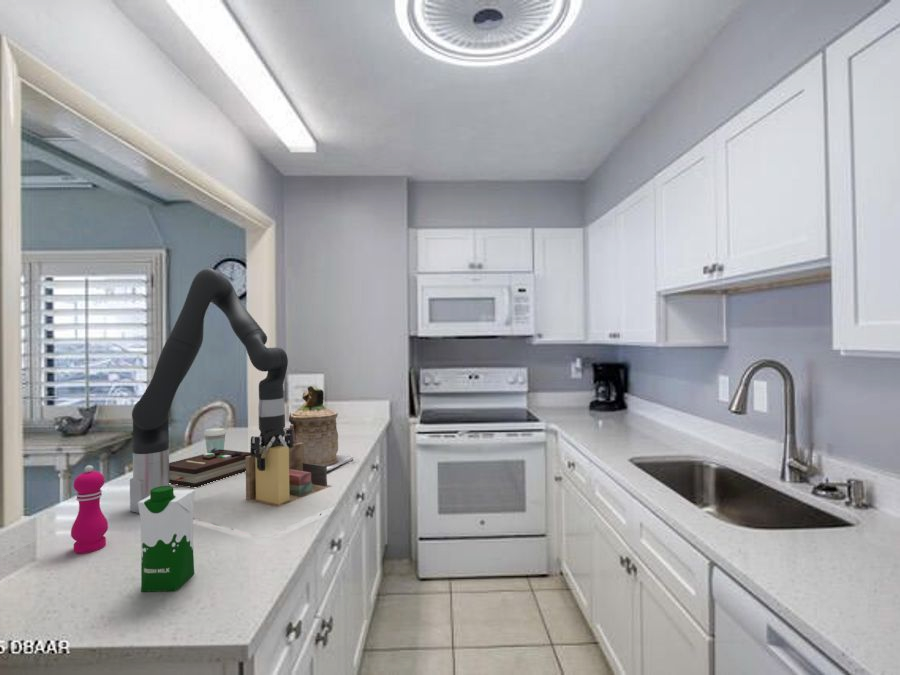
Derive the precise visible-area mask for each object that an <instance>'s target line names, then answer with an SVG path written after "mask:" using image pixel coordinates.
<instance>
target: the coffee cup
mask: <svg viewBox="0 0 900 675" xmlns="http://www.w3.org/2000/svg"><path fill="white" fill-rule="evenodd" d="M226 434H227V431H226V428H224V427H214V428H208V429H205V431H204V434H203V435H204V438H205V446H206V453H208V452H211V451H210V450H212V449H215V450H220V449H221V450H225V442H226Z"/></svg>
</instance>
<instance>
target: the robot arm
mask: <svg viewBox="0 0 900 675" xmlns="http://www.w3.org/2000/svg"><path fill="white" fill-rule="evenodd" d="M211 303H212V304H214V305H215V306H216V307H217V308H219V310H220V311H222V312H223V314H225V316H226V318H227V319H228V321H229V324H230V326H231V329H232V330H233V332H234V334H235V336H236V338H238V339H239V340H240V342H241V343H242V345H244V348H245V349H246V353H247V355H248V358H249V360H250V362H251V365H252V366H253V367H254V368H255V369H256V370H258V371H259V372H265V373H266V372H267V374H266V376H265V378H263V379H262V380H260V381H259V383H258V408H257V409H258V411H257V412H258V430H259V431H260V435H259V436H258V435H257V436H251V437H250V456H251V457H256V458H257V468H258V470H259V471H264V470H265V458H264V457H265V455H266V453H267V452H268V451H269V449H270V448H272V447H275V446H284V447H289V449H290V448H293V432H292V429H286V428H287V427H286V412H285V411H286V406H285V400H284V399H285V398H284V394H285V393H284V382H285V378H286V374H287V370H288V367H289V366H288V365H289V358H288V354H287V352H286V351H285V350H284V349H283V348H282V347H267V346H266V344H267V342H268V336H267V334H266V333H265V332H264V330H263V328H261V326H260V325H259V324H258V322H257V321H256V320H255V319H254V317H253V316H252V315H251V314H250V312H249V311H248V310H247V309H246V307H245V306H244V305H243V303H242V301H241V300H240V297H239V296H238V294H237V292H236V290H235V289H234V287H233V285H232V282H231V281H230V280H229V279H228V278H227V277H226V276H224V275H223V274H221V273H220V272H218V271H217V270H215V269H213V268H207V267H206V268H203V269H202V270H200V271H199V272H198V273H197V274H196V275H195V276H194V278H193V279H192V282H191V285H190V287H189V289H188V293H187V295H186V297H185V301H184V303H183V306H182V309H181V311H180V314H179V315H178V317H177V320H176V321H175V324H174V326H173V328H172V329H171V331H170V333H169V336H168V337H167V340H166V341H165V343H164V345H163V348H162V349H161V352H160V355H159V357H158V359H157V363H156V367H155V369H154V372H153V375H152V378H151V380H150V382H149V384H148V386H147V388H145V391H144V392H143V394H142V396H141V398H139V400H138V401H136V403H135V404H134V406H133V408H132V412H131V418H132V477H131V478H130V479H129V511H130V512H133V513H137V514H139V515H140V513H139V507H138V502H140V501H141V500H143V499H145V498H147V497H148V496H150V491H151V489H153V488H156V487H161V486H170V484H169V463H170V432H169V429H170V428H169V421H170V420H169V413H170V410H171V406H172V403H173V402H174V401H173V400H174V398H175V396H176V394H177V391H178V389H179V387H180V385H181V383H182V382H183V380H184V379H185V378H186V376H187V374H188V372H189V370H190V369H191V368H192V365H193V363H194V362H195V359H196V357H197V355H198V354H199V352H200V350H201V348H202V344H203V341H204V323H205V322H204V321H205V317H206V316H205V315H206V312H207V310H208V308H209V306H210V304H211ZM264 446H265V447H264Z"/></svg>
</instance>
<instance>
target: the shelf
mask: <svg viewBox="0 0 900 675" xmlns="http://www.w3.org/2000/svg"><path fill="white" fill-rule="evenodd" d="M327 472H328V471H327V466H323V465H317V464H310V463H304V443H297V444H293V448H290V449H289V497H290V500H289V501H286V502H284V503H281V504H275V503H270V502H266V501H261V500H257V499H256V473H255V457H251V456H246V472H245V500H246V501H249V502H255V503H260V504H263V505H268V506H273V507H276V508H279V507H282V506H285V505H287V504H289V503H291V502H295V501H297V500H300V499H302V498H305V497H308V496H309V495H313V494H316V493H318V492H320V491H322V490H325V489H327V488H331V485H329V484H328V478H327V477H328V474H327Z"/></svg>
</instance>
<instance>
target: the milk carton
mask: <svg viewBox="0 0 900 675" xmlns="http://www.w3.org/2000/svg"><path fill="white" fill-rule="evenodd" d="M195 493H196V489H175V490H174V486H172V485H169V486H161V487H156V488H153V489H151V491H150V496H148V497H147V498H145V499H143V500H141V501H140V502H138V507H139V513H140V514H139V513H138V514H139V517H140V518H139V519H140V555H141V557H140V559H141V560H140V561H141V563H140V568H141V569H140V571H141V572H140V573H141V574H140V576H141V577H140V581H141V583H140V585H141V587H140V588H141V590H140V591H141V593H145V592H147V593H148V592H173V591H175V592H177V591H178V590H179V589H180V588H181V587H182V586H183V585H185V583H186V582H188V580H190V579H191V577H192V576H193V575H194V574H195V559H194V504H195V503H194V502H195V495H196V494H195Z"/></svg>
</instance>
